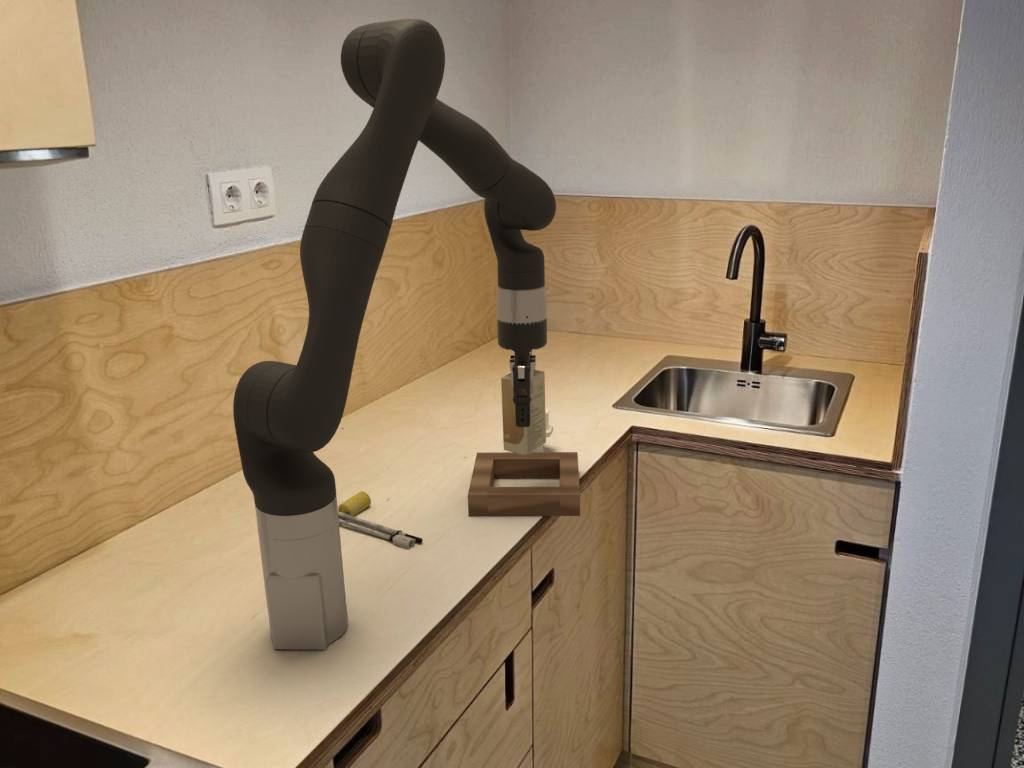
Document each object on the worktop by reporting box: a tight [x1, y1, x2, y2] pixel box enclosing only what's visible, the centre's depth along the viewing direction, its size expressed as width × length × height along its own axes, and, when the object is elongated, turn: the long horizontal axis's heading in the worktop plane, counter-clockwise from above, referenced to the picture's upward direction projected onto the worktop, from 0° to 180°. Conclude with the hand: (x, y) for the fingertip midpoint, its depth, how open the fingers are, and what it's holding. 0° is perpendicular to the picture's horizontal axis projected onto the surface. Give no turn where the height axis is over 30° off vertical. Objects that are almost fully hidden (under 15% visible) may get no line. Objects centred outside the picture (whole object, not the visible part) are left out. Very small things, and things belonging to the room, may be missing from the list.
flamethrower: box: [338, 490, 423, 550], centre depth 137 cm, size 29×3×10 cm
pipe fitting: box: [532, 407, 554, 452], centre depth 159 cm, size 6×7×8 cm
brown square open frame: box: [467, 451, 581, 517], centre depth 144 cm, size 17×17×4 cm
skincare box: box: [500, 369, 547, 455], centre depth 140 cm, size 6×4×12 cm
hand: (523, 417), depth 140 cm, fingers closed on skincare box, 7 cm apart
